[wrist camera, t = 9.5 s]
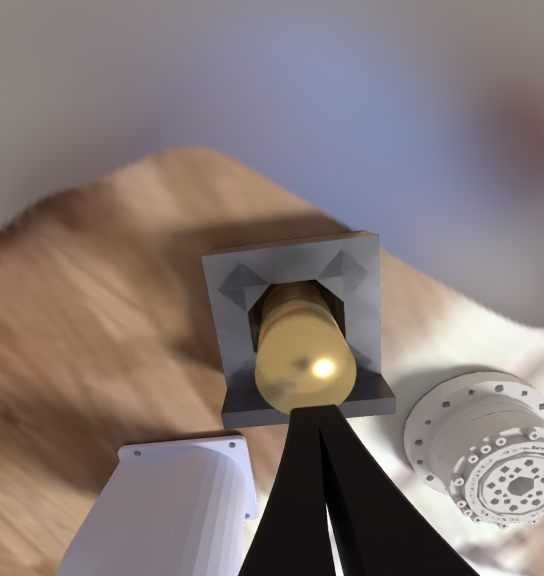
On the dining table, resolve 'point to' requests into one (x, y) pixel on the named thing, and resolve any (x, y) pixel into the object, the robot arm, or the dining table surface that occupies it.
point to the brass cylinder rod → (301, 351)
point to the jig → (290, 268)
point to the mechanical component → (482, 446)
